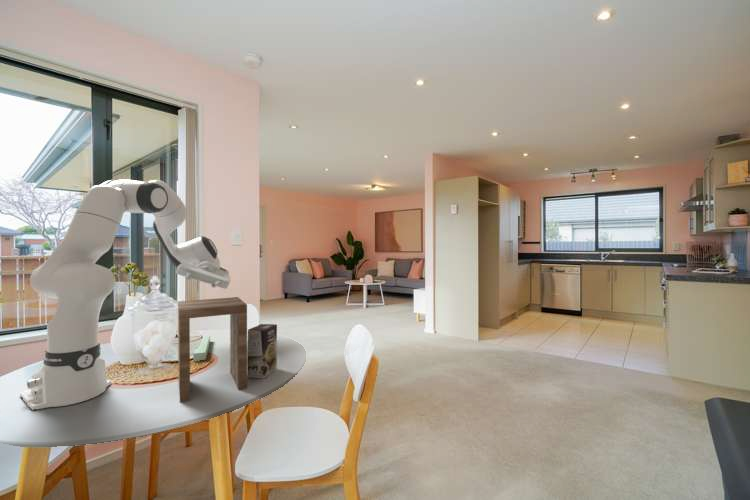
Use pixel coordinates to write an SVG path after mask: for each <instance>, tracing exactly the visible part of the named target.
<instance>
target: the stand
mask: <svg viewBox="0 0 750 500" xmlns="http://www.w3.org/2000/svg"><path fill="white" fill-rule="evenodd" d="M177 315H178V316H177V323H178V324H177V325H178V326H177V329H178V333H177V335H178V336H177V337H178V338H177V340H178V342H177V343H178V348H177V349H178V350H177V352H178V354H177V356H178V358H177V359H178V361H177V362H178V363H177V364H178V391H179V392H178V393H179V403H183V402H188V401H191V364H190V363H191V357H190V356H191V352H190V351H191V350H190V347H191V346H190V345H191V344H190V342H191V339H190V337H191V336H190V335H191V334H190V333H191V331H190V330H191V329H190V322H191V321H190V319H195V318H196V319H199V318H205V317H216V316H218V317H219V316H225V315H226V316H230V317H229V321H230V322H229V325H230V327H229V331H230V332H229V333H230V334H229V335H230V337H229V338H230V339H229V340H230V341H229V342H230V344H229V345H230V347H229V348H230V351H229V353H230V354H229V355H230V375H231V377H232V379H233V381H234V384H235V386H236V388H237V391H241V390H246V389H248V377H247V371H248V304H247V303H245V301H244V300H242V299H241V298H240V297H238V296H235V297H234V296H233V297H223V298H221V297H220V298H209V299H208V298H207V299H193V300H191V299H190V300H182V301H181V300H180V301H179V300H178V301H177Z"/></svg>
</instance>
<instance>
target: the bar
mask: <svg viewBox="0 0 750 500" xmlns="http://www.w3.org/2000/svg"><path fill="white" fill-rule="evenodd" d="M202 335H203V336H204V338H203V341H202V342H201V344H200V346H199V348H197V349H195V348H194V351H193V353H192V356H193V361H192V362H193V363H195V362H194V361H197V362H201V361H200V360H205V359H207V356H206V355H208V352H209V346H210V344H211V334H202ZM205 361H206V360H205Z"/></svg>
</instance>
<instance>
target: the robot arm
mask: <svg viewBox="0 0 750 500" xmlns="http://www.w3.org/2000/svg"><path fill="white" fill-rule="evenodd" d="M124 213H131V214H152V215H153V217H154V218H155V219H154V220H153V221H152V227H153V231H154V233H155V235H156V238H157V240H158V241H159V243H160V244H161V247H162V248H163V250H164V252H165V254H166V256H167V257H168V261H169V263H170V264H171V266H173V267H175V268H176V270H175V274H176V275H179V276H182V277H185V280H188V281H190V280H191V279H192V280H193V281H194V280H195V281H197V282H201V283H204V284H208V285H211V286H210V287H211V288H217V287H218V288H222V289H225V290H227V289H228V287H229V285H230V283H231V276H230V275H229V274H230V271H229V270H227V269H225V268H223V267H221V260H220V258H219V256H218V249H217V247H216V245H215V243H214V242H213V241H212V239H210V238H208V237H206V236H198V237H196V238H193V239H191V240H188V241H186V242H182V243H180V244H179V243H178V244H175V242H174V240H173V238H172V237H171V234H172V233H173V232H174V231H175V230H176V229H177V228H179V227H180V226H182V224H184V222H185V220H186V219H187V215H188V210H187V207H186V204H184V202H183V201H182V199H181V198H180V196H179V195H178V194H177V193H176V191H175V190H174V189H173V188H172V187H171V186H169V185H168V184H167V183H166V182H165V181H163V180H160V179H153V180H152V179H151V180H149V181H142V180H134V179H110V180H106V181H104V182H102V183H100V184H99V185H98V184H97V185H93V186H92V187H90V188H89V190H88V191H87V192H86V193H85V195H84V196H83V197H82V199H81V201H80V202H79V205H78V207H77V208H76V210H75V212H74V215H73V217H72V220H71V222H70V224H69V226H68V228H67V230H66V233H65V234H64V237H63V238H62V239H61V241H60V242H59V244H58V245H57V246H56V247H55V249H54V250H53V252H52V253H51V254H50V255H49V257H47V259H46V260H45V261H44V262H43V263H42V264H41V265H40V266H38V267H36V268H35V269H33V271H32V272H31V274H30V277H29V284H30V287H31V289H33V290H34V292H35V293H38V294H40V295H41V296H42V297H46V298H48V299H55V300H57V305H56V309H55V312H54V315H53V316H52V318H51V319H49V321H48V322H47V325H46V335H47V336H46V340H47V342H46V343H47V344H46V346H47V349H46V350H45V351H44V352H45V354H44V356H43V363H42V365H41V366H40V367H39V369H37V371H35V372H34V373H33V374H32V376H31V379H28V380H27V381H26V387H27V389H26V390H23V391H21V392H20V395H19V397H20V396H21V397H22V398H23V399H22V398H21V397H20V398H21V399H22V401H23V402H24V401H25V402H26V403H27V404H26V403H25V402H24V403H25V404H26V406H28V408H29V407H30V408H31V409H32V411H35V410H34V409H36V410H41V409H45V408H46V409H47V408H54V407H55V408H56V407H63V406H71V405H74V404H79V403H82V402H84V401H88V400H91V399H94V398H95V397H98V396H99V395H101V394H103V393H104V392H105V391H106V389H107V387H109V386H110V385H111V384H112V380H111V379H108V378H107V369H106V362H105V361H106V360H105V359H104V358H102V357H100V356H101V343H99V318H100V314H101V313H100V312H101V309H102V307H103V304H104V301H105V300H106V298H107V297H108V296H110V294H111V293H112V292H113V291H114V288H115V286H116V277H115V275H114V273H113V271H111V269H109V268H108V267H106V266H103V265H100V264H96V263H97V262H98V260H99V259H100V258H101V257H102V256H103V255H104V254H106V253H107V252H109V251H110V249H111V248H112V246H113V243H114V241H115V238H116V236H117V233H118V231H119V228H120V225H121V222H122V218H123V216H124ZM197 262H198V263H197ZM194 263H197V264H196V265H195V264H194ZM30 408H29V409H30ZM31 409H30V410H31Z"/></svg>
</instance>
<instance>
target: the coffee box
mask: <svg viewBox="0 0 750 500" xmlns="http://www.w3.org/2000/svg"><path fill="white" fill-rule="evenodd" d="M277 338H278V324H275V323H274V324H273V323H271V324H270V323H260V324H258V325H256V326H253V327H251V328H249V329H247V378H251V379H253V378H254V379H255V378H256V379H260V380H261V379H266V378H267V377H268V376H269V375H271V374H272V373H273V372H274V371H276V370H277V369H278V358H277V357H278V353H277V352H278V349H277V348H278V343H277V342H278V339H277Z"/></svg>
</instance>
